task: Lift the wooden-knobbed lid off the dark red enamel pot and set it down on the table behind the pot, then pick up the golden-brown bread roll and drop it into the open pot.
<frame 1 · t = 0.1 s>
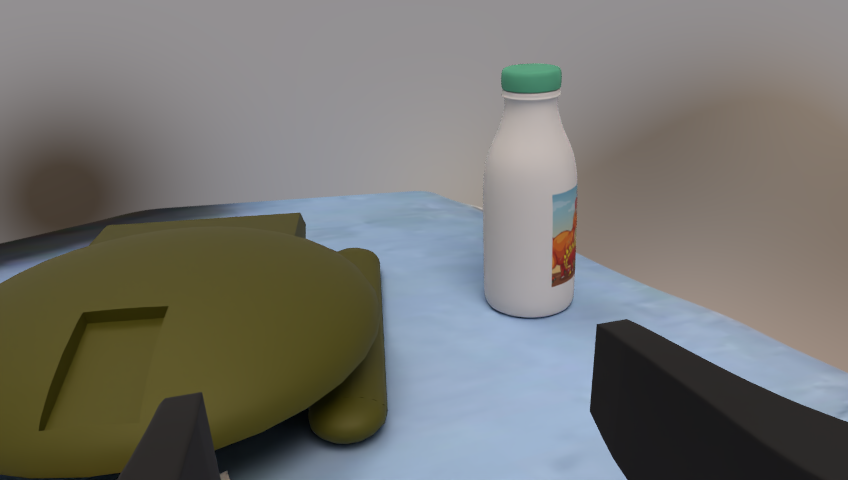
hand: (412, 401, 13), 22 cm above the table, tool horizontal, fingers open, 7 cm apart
spaceship: (182, 373, 55), on the table
milk bottle: (528, 301, 64), on the table
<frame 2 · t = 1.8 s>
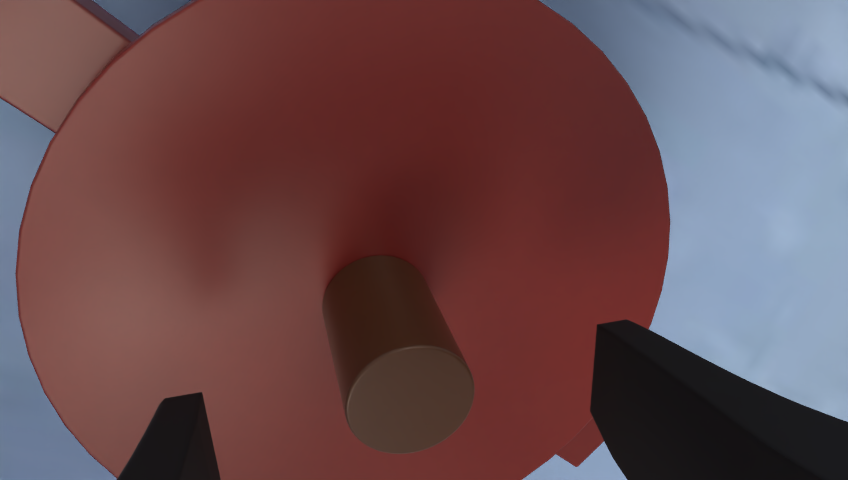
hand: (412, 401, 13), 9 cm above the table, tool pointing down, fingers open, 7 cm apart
pot lid: (372, 291, 17), point 5 cm above the table, touching pot
pot: (340, 202, 21), on the table
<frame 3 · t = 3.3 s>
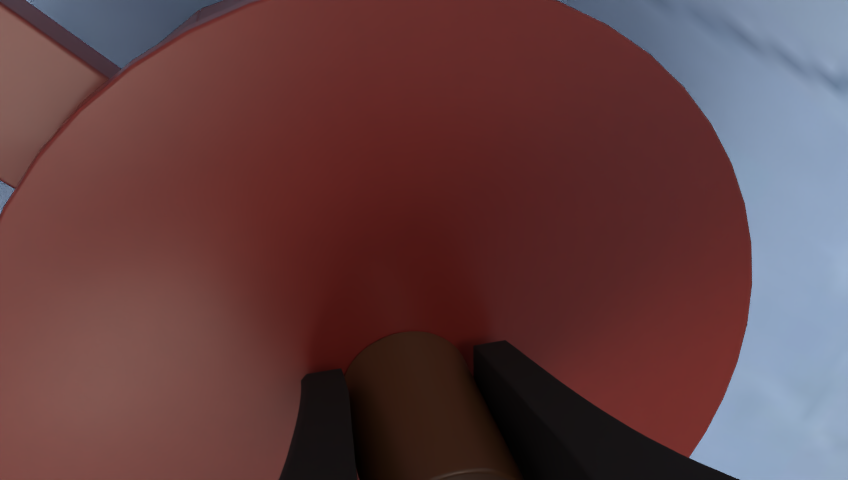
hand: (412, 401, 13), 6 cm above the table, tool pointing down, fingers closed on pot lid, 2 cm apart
pot lid: (399, 369, 14), point 5 cm above the table, touching gripper, pot
pot: (357, 247, 19), on the table
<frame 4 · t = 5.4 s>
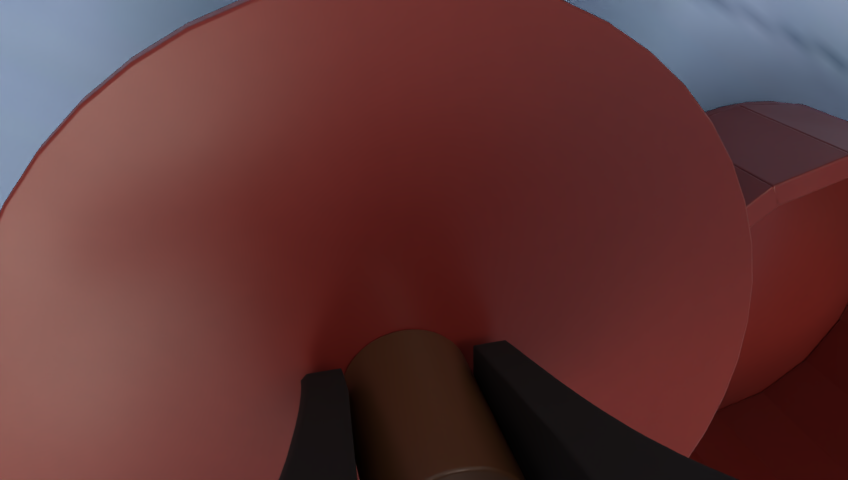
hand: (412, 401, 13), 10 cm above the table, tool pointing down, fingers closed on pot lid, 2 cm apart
pot lid: (399, 367, 14), point 9 cm above the table, touching gripper
pot: (717, 278, 27), on the table
when the fingers open (2 cm above the table, at t = 7.9 s): pot lid stays where it is, point 1 cm above the table.
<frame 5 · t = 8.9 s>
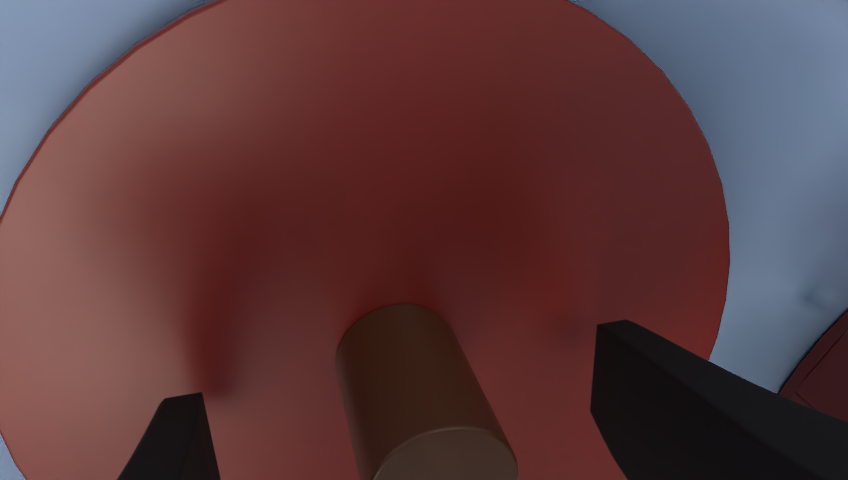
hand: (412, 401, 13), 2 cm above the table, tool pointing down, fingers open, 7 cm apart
pot lid: (391, 342, 15), point 1 cm above the table
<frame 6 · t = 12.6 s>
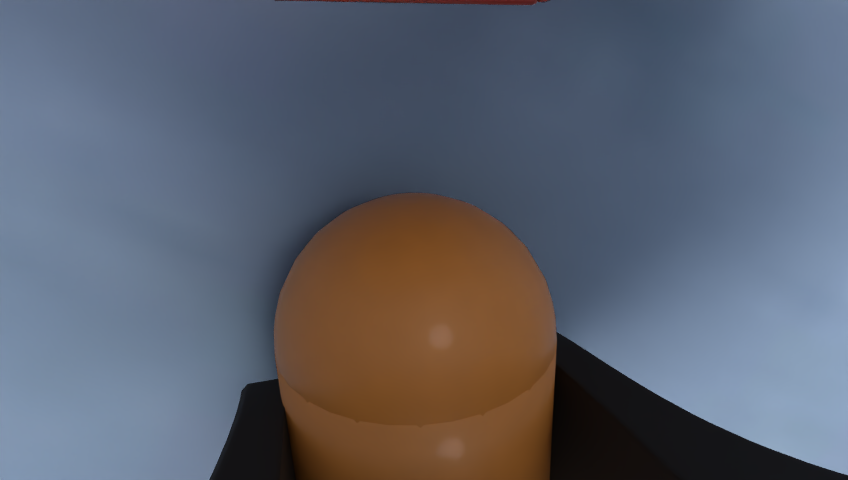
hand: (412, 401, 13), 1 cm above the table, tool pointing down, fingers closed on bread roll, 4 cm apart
bread roll: (394, 357, 14), on the table, touching gripper
when the fingers open (2 cm above the table, at t = 17.7 s): bread roll stays where it is, resting on pot.
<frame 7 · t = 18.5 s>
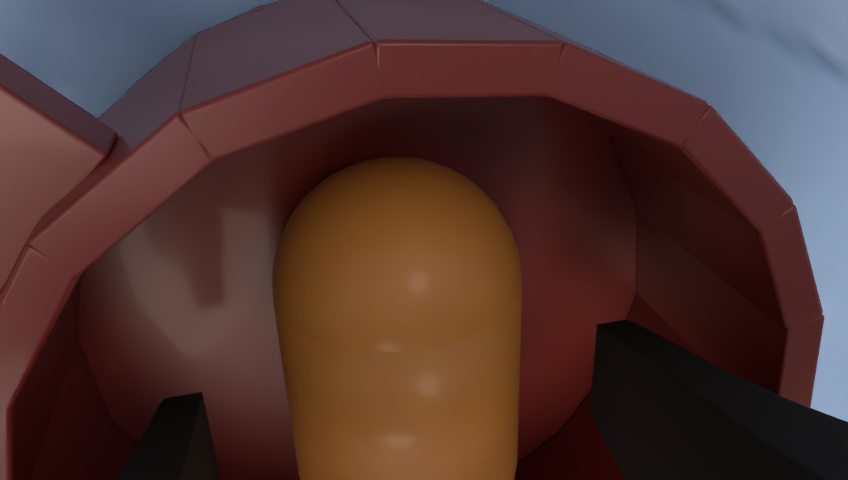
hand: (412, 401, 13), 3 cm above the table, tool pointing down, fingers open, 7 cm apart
pot: (378, 303, 16), on the table
bread roll: (380, 312, 16), resting on pot
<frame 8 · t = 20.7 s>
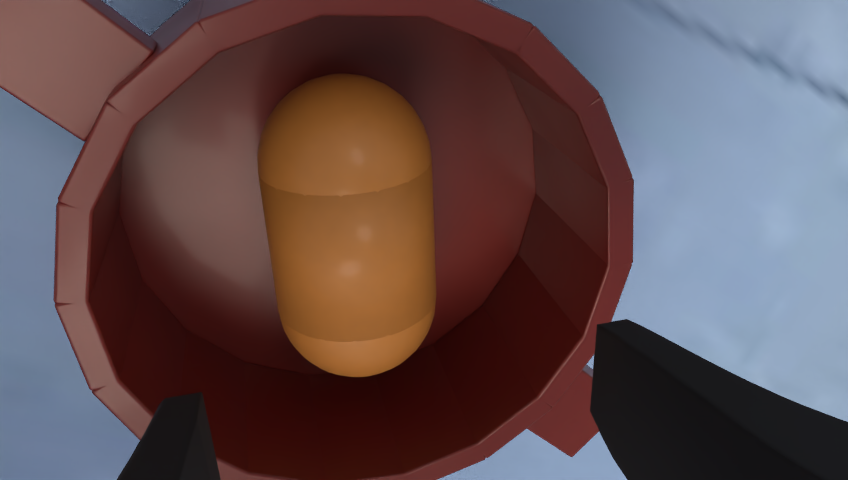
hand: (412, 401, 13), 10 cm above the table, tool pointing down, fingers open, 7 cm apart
pot: (339, 196, 22), on the table
bread roll: (340, 201, 21), resting on pot
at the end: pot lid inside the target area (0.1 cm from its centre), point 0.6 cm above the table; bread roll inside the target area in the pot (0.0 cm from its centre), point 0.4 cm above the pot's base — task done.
